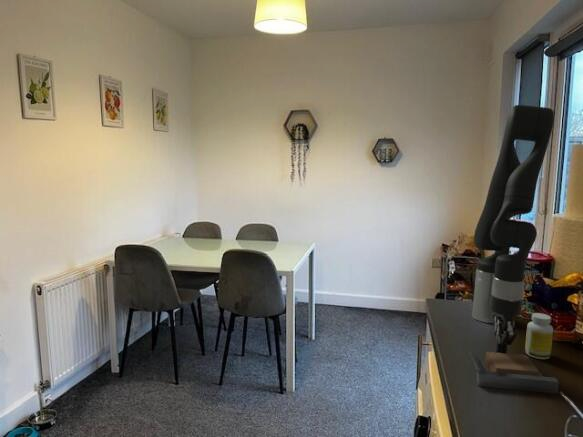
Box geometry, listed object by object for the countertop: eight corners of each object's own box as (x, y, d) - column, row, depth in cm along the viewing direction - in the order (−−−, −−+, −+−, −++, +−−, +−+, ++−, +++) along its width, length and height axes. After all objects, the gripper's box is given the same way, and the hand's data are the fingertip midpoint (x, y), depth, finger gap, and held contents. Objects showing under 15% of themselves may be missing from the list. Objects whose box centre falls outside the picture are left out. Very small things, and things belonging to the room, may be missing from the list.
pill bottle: (553, 361, 121) (558, 321, 120) (528, 358, 123) (532, 319, 121) (545, 351, 128) (550, 312, 126) (521, 348, 129) (525, 310, 127)
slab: (484, 365, 119) (486, 351, 119) (524, 369, 118) (525, 355, 117) (495, 382, 110) (496, 368, 110) (537, 386, 109) (539, 371, 108)
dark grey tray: (463, 355, 124) (464, 345, 123) (532, 362, 121) (533, 351, 120) (478, 385, 108) (479, 374, 107) (557, 393, 105) (558, 382, 105)
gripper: (485, 285, 124) (480, 343, 127) (499, 302, 111) (493, 366, 114) (513, 287, 123) (507, 345, 126) (531, 304, 110) (524, 368, 113)
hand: (500, 355), depth 120 cm, fingers closed
